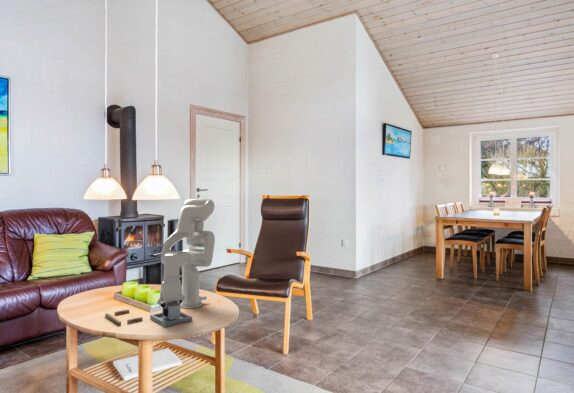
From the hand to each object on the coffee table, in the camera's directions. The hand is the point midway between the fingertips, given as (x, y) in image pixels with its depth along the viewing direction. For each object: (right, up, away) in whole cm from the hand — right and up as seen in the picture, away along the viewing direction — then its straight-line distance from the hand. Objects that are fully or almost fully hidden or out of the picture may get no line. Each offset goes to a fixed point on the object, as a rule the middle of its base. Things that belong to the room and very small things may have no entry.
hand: (171, 314), depth 202 cm
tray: (0, -3, 0) cm, 3 cm away
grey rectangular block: (0, -1, 0) cm, 1 cm away
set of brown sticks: (-24, -2, +1) cm, 24 cm away
